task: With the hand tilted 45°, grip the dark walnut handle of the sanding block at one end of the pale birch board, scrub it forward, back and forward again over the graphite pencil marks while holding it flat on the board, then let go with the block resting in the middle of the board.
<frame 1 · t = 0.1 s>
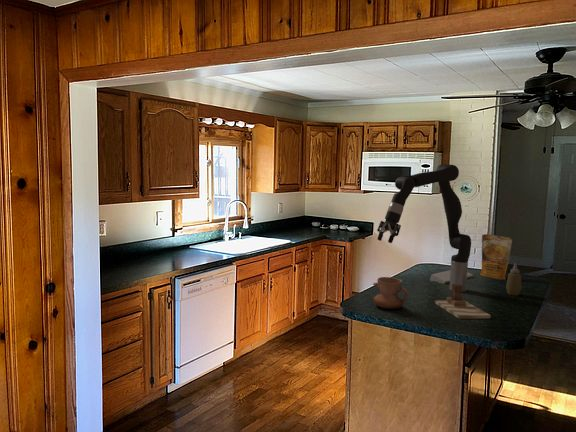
hand: (384, 241, 257), 31 cm above the worktop, tool tilted 20°, fingers open, 8 cm apart
sanding block: (455, 304, 252), point 2 cm above the worktop, touching birch board
ceramic jug: (389, 307, 247), on the worktop
pancake mix bag: (493, 277, 325), on the worktop
birch board: (461, 310, 246), on the worktop
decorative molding: (451, 280, 317), on the worktop
squeeze bottle: (513, 294, 282), on the worktop
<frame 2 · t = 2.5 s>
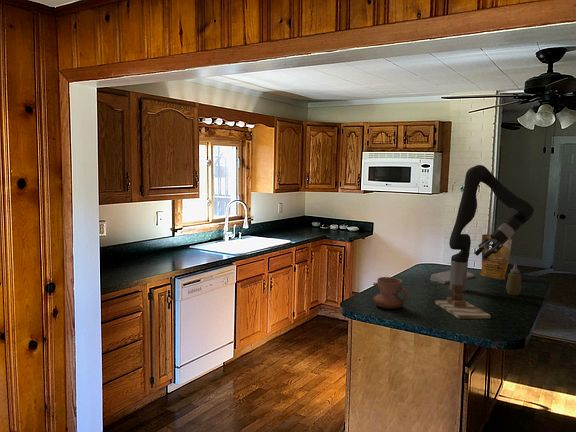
hand: (479, 255, 251), 27 cm above the worktop, tool tilted 45°, fingers open, 8 cm apart
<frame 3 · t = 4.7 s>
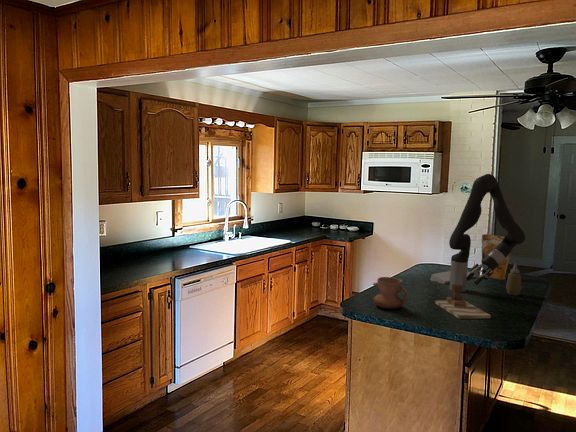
hand: (470, 281, 251), 13 cm above the worktop, tool tilted 45°, fingers open, 8 cm apart
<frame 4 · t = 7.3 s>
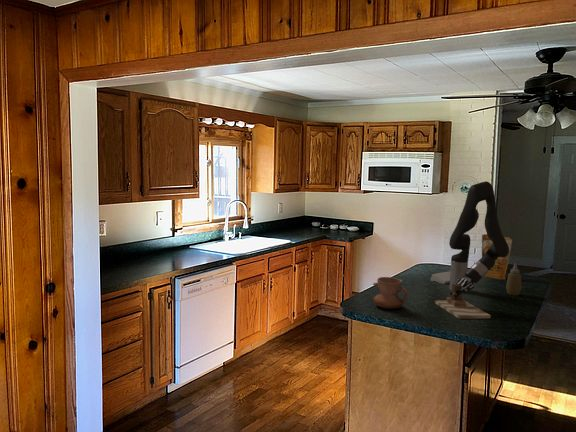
hand: (452, 295, 251), 6 cm above the worktop, tool tilted 45°, fingers closed on sanding block, 3 cm apart
sanding block: (455, 304, 252), point 2 cm above the worktop, touching birch board, gripper
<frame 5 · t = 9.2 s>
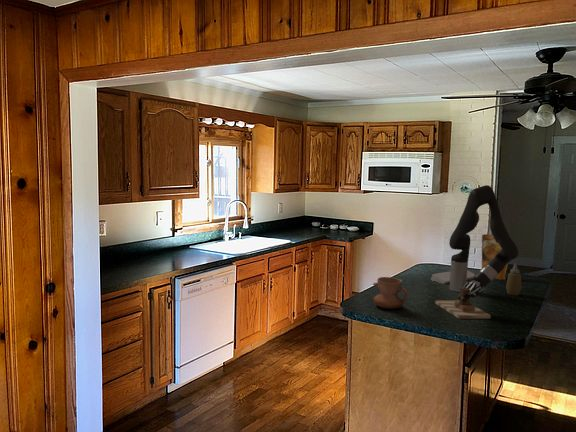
hand: (460, 299, 242), 6 cm above the worktop, tool tilted 45°, fingers closed on sanding block, 3 cm apart
sanding block: (464, 308, 243), point 2 cm above the worktop, touching gripper
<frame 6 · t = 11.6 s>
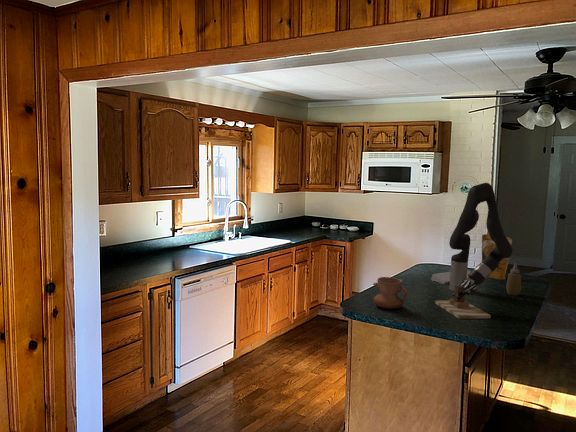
hand: (455, 297, 248), 6 cm above the worktop, tool tilted 45°, fingers closed on sanding block, 3 cm apart
sanding block: (458, 305, 249), point 2 cm above the worktop, touching gripper
when the fingers open (6 cm above the worktop, at t = 14.1 s): sanding block stays where it is, resting on birch board.
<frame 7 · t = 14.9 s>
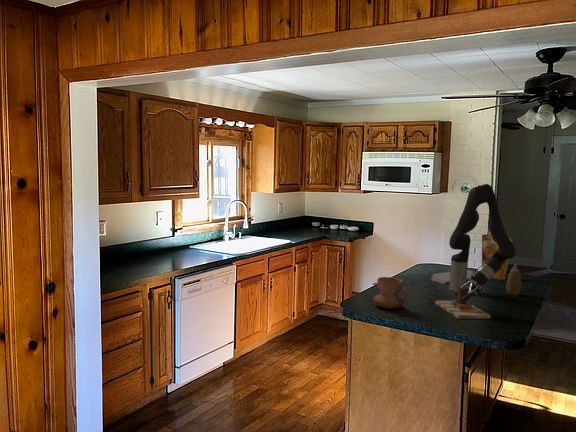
hand: (459, 297, 245), 7 cm above the worktop, tool tilted 45°, fingers open, 8 cm apart
sanding block: (461, 307, 246), point 2 cm above the worktop, touching birch board
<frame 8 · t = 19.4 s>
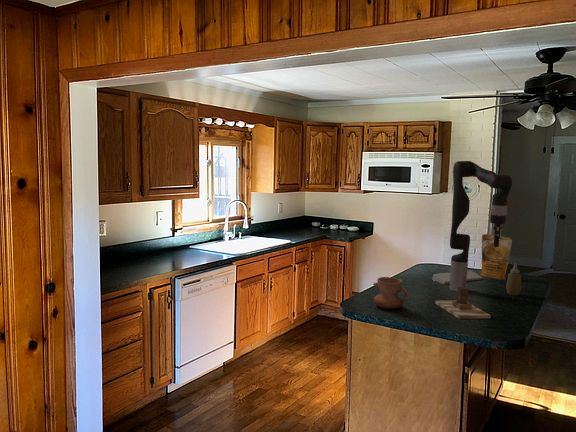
hand: (496, 245, 251), 32 cm above the worktop, tool pointing down, fingers open, 8 cm apart
at the end: sanding block inside the target area on the birch board (0.1 cm from its centre), point 1.5 cm above the birch board's base; sanding block tilted 0°; the gripper is holding nothing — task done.
